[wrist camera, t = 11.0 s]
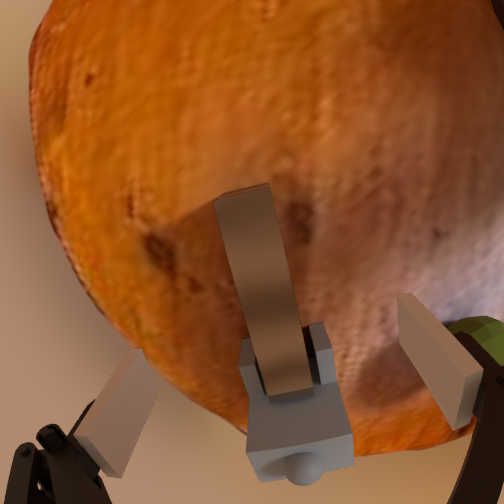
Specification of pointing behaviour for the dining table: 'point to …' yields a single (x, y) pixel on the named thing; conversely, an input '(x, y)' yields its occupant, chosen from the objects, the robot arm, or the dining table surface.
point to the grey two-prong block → (297, 420)
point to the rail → (265, 290)
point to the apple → (483, 334)
